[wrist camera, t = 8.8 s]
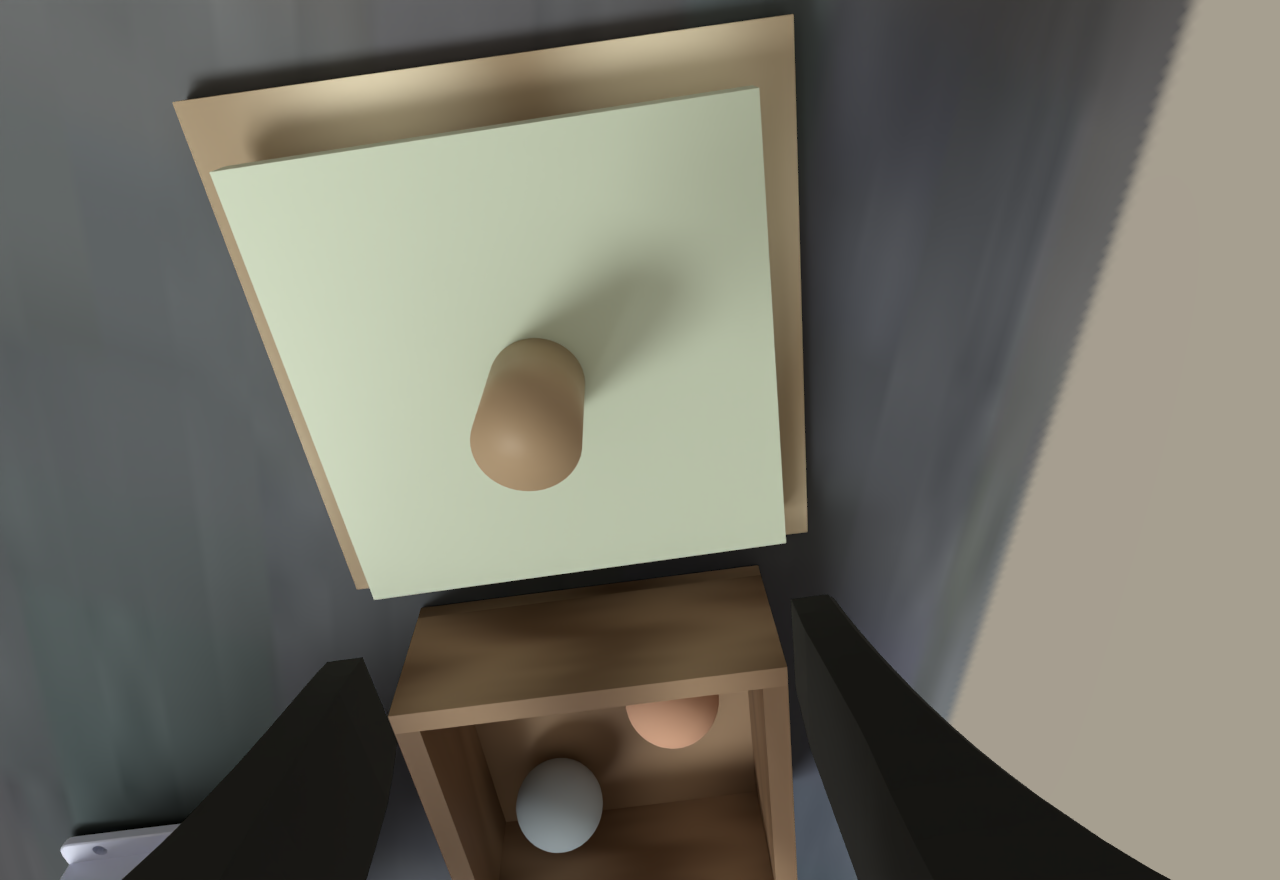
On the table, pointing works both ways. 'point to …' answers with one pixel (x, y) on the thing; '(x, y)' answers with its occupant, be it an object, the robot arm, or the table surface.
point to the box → (604, 728)
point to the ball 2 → (674, 720)
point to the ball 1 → (559, 805)
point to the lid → (530, 338)
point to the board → (522, 93)
